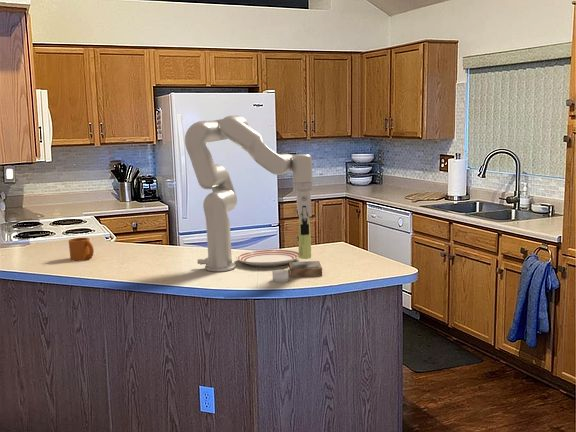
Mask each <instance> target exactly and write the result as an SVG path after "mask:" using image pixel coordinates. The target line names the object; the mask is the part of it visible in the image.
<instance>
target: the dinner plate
mask: <svg viewBox="0 0 576 432" xmlns="http://www.w3.org/2000/svg"><path fill="white" fill-rule="evenodd" d="M298 259H300V258H299V251H297V250H290V249H283V248H282V249H281V248H280V249H279V248H278V249H277V248H276V249H274V248H273V249H259V250H251V251H248V252H243V253H241V254H238V255H237V256H236V260H238V261H239V262H240V263H243V264H246V265H249V266H253V267H260V268H270V267H271V268H272V267H279V266H284V265H288V264H289V262H295V261H296V260H298Z"/></svg>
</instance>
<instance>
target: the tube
mask: <svg viewBox="0 0 576 432" xmlns="http://www.w3.org/2000/svg"><path fill="white" fill-rule="evenodd" d="M302 211H303V208H302ZM307 214H308V213H307ZM307 214H306V215H307ZM302 216H303V215H302ZM302 219H303V218H302ZM310 222H311V221H310V216H309V215H308V224H309V235H301V228H300V224H301V217H299V216H298V252H299V258H298V259H302V260H309V259H311V258H312V239H311V238H312V237H311V223H310Z"/></svg>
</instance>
